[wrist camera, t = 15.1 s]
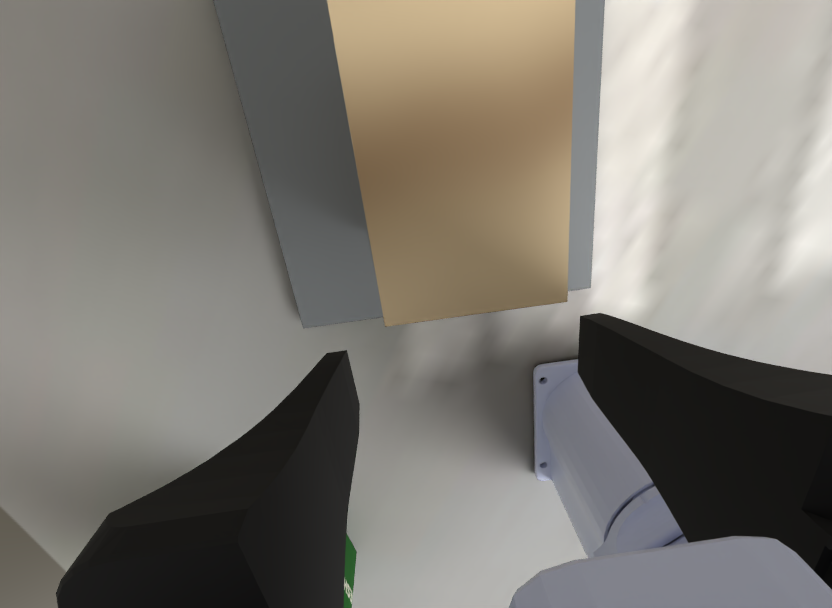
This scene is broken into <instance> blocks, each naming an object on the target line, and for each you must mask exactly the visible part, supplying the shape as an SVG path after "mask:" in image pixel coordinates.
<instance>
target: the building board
mask: <svg viewBox="0 0 832 608" xmlns="http://www.w3.org/2000/svg"><path fill="white" fill-rule="evenodd" d="M213 1H214V5H215V8H216V12H217V16H218V19H219V23H220V27H221V30H222V34H223V38H224V41H225V45H226V48H227V52H228V56H229V59H230V63H231V67H232V70H233V74H234V78H235V81H236V85H237V89H238V92H239V96H240V99H241V103H242V107H243V110H244V114H245V118H246V121H247V125H248V129H249V132H250V136H251V140H252V143H253V147H254V151H255V154H256V158H257V161H258V165H259V169H260V172H261V176H262V180H263V183H264V187H265V191H266V194H267V198H268V202H269V205H270V209H271V212H272V216H273V220H274V223H275V227H276V231H277V234H278V238H279V242H280V245H281V249H282V253H283V256H284V260H285V264H286V267H287V271H288V274H289V278H290V282H291V285H292V289H293V293H294V296H295V300H296V304H297V307H298V311H299V315H300V318H301V322H302V325H303V328H309V327H316V326H323V325H331V324H338V323H345V322H352V321H359V320H366V319H373V318H380V317H383V312H382V307H381V301H380V295H379V290H378V284H377V279H376V273H375V267H374V262H373V256H372V250H371V245H370V239H369V234H368V228H367V222H366V217H365V211H364V206H363V200H362V194H361V189H360V183H359V177H358V172H357V166H356V161H355V155H354V149H353V144H352V138H351V133H350V127H349V121H348V116H347V110H346V105H345V99H344V93H343V88H342V82H341V76H340V71H339V65H338V60H337V54H336V48H335V43H334V37H333V32H332V26H331V20H330V15H329V9H328V4H327V0H213ZM604 5H605V0H575V35H574V72H573V109H572V147H571V184H570V221H569V258H568V291H573V290H580V289H587V288H591V271H592V250H593V230H594V209H595V189H596V169H597V148H598V128H599V107H600V87H601V66H602V46H603V25H604Z"/></svg>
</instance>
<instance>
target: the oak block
mask: <svg viewBox="0 0 832 608" xmlns="http://www.w3.org/2000/svg"><path fill="white" fill-rule="evenodd" d="M327 4H328V9H329V15H330V20H331V26H332V32H333V37H334V43H335V48H336V54H337V60H338V65H339V71H340V76H341V82H342V88H343V93H344V99H345V105H346V110H347V116H348V121H349V127H350V133H351V138H352V144H353V149H354V155H355V161H356V166H357V172H358V177H359V183H360V189H361V194H362V200H363V206H364V211H365V217H366V222H367V228H368V234H369V239H370V245H371V250H372V256H373V262H374V267H375V273H376V279H377V284H378V290H379V295H380V301H381V307H382V312H383V318H384V323H385V327H387V326H394V325H401V324H409V323H416V322H423V321H430V320H438V319H445V318H452V317H459V316H467V315H474V314H481V313H489V312H496V311H503V310H510V309H518V308H525V307H532V306H539V305H547V304H554V303H561V302H567V295H568V258H569V221H570V184H571V147H572V109H573V72H574V35H575V0H327Z"/></svg>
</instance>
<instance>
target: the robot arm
mask: <svg viewBox="0 0 832 608" xmlns="http://www.w3.org/2000/svg"><path fill="white" fill-rule="evenodd" d="M543 377H545V379H544V380H542V381H539V380H540V379H541V378H543ZM533 379H534V448H535V475H536V478H537V479H538V480H540V481H545V480H552V481H553V483H554V486H555V488H556V490H557V492H558V494H559V496H560V499H561V501H562V503H563V505H564V507H565V509H566V512H567V514H568V516H569V518H570V520H571V523H572V525H573V527H574V529H575V531H576V533H577V536H578V538H579V540H580V542H581V544H582V546H583V549H584V551H585V553H586V555H587V556H588V558H586V559H579V560H573V561H570V562H567V563H564V564H561V565H558V566H555V567H551V568H548V569H545V570H542V571H540V572H539V573H538V574H536V575H535V576H534V577H533V578H531V579H530V580H529V581H527V582H526V583H525V584H524V585H522V586H521V587H520V588H518V589H517V591H516V592H515V594H514V596H513V598H512V601H511V604H510V606H509V608H832V375H828V374H822V373H815V372H809V371H803V370H797V369H792V368H787V367H781V366H776V365H771V364H766V363H761V362H756V361H752V360H748V359H744V358H740V357H736V356H732V355H728V354H724V353H720V352H716V351H713V350H709V349H706V348H703V347H699V346H696V345H693V344H690V343H687V342H683V341H680V340H678V339H675V338H672V337H669V336H666V335H663V334H660V333H657V332H655V331H652V330H649V329H646V328H644V327H641V326H638V325H635V324H633V323H630V322H627V321H624V320H621V319H618V318H616V317H612V316H609V315H606V314H601V313H598V314H591V315H584V316H580V332H579V353H578V359H575V360H568V361H561V362H553V363H546V364H540V365H538V366H536V367H535V369H534V372H533ZM358 437H359V400H358V396H357V392H356V387H355V383H354V379H353V375H352V370H351V366H350V362H349V357H348V353H347V350H345V351H339V352H332V353H327V354H326V355H325V356H324V357H323V358H322V359H321V360H320V361H319V362H318V364H317V365H316V366H315V367H314V368H313V369H312V370H311V372H310V373H309V374H308V375H307V376H306V377H305V378H304V379H303V380H302V381H301V383H300V384H299V385H298V386H297V387H296V388H295V389H294V390H293V391H292V392H291V393H290V394H289V395H288V396H287V397H286V398H285V399H284V400H283V401H282V402H281V403H280V404H279V405H278V406H277V407H276V408H275V409H274V410H273V411H272V412H271V413H270V414H268V415H267V416H266V417H265V418H264V419H263V420H262V421H260V422H259V423H258V424H257V425H256V426H254V427H253V428H252V429H251V430H249V431H248V432H247V433H246V434H244V435H243V436H242V437H240V438H239V439H238V440H236V441H235V442H233V443H232V444H230V445H229V446H228V447H226V448H225V449H223V450H222V451H220V452H219V453H218V454H216V455H215V456H213V457H212V458H210V459H209V460H207V461H206V462H204V463H203V464H201V465H199V466H198V467H196V468H194V469H193V470H191V471H190V472H188V473H186V474H184V475H183V476H181V477H179V478H177V479H176V480H174V481H172V482H170V483H169V484H167V485H165V486H163V487H161V488H160V489H158V490H156V491H154V492H152V493H150V494H148V495H146V496H144V497H142V498H140V499H138V500H136V501H134V502H132V503H130V504H128V505H126V506H124V507H122V508H120V509H118V510H116V511H114V512H112V513H110V514H109V515H108V516H107V517H106V519H105V520H104V521H103V523H102V524H101V526H100V527H99V528H98V530H97V531H96V532H95V534H94V535H93V537H92V538H91V539H90V541H89V542H88V543H87V545H86V546H85V548H84V549H83V550H82V552H81V553H80V555H79V556H78V557H77V559H76V560H75V561H74V563H73V564H72V566H71V567H70V568H69V570H68V571H67V572H66V574H65V575H64V577H63V578H62V579H61V581H60V584H59V587H58V589H57V592H56V596H57V603H58V608H344V577H345V549H346V529H347V513H348V504H349V496H350V490H351V483H352V477H353V470H354V464H355V457H356V451H357V444H358ZM543 462H544V463H543ZM541 463H542V464H541Z"/></svg>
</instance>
